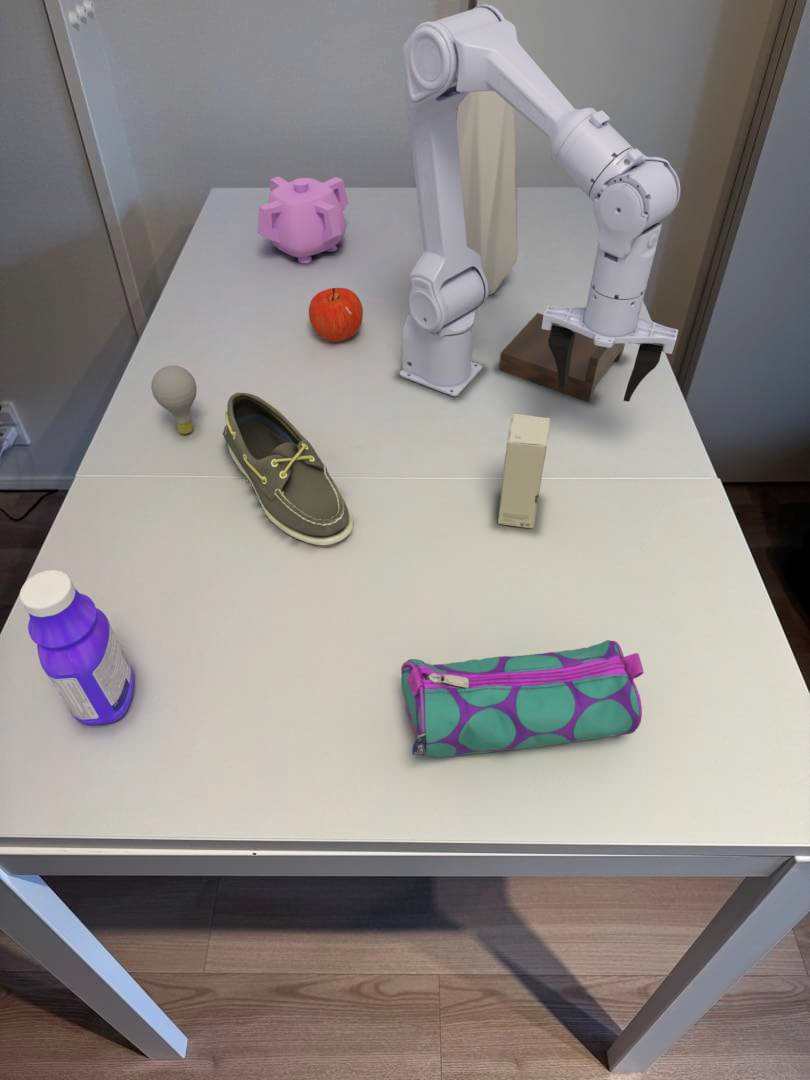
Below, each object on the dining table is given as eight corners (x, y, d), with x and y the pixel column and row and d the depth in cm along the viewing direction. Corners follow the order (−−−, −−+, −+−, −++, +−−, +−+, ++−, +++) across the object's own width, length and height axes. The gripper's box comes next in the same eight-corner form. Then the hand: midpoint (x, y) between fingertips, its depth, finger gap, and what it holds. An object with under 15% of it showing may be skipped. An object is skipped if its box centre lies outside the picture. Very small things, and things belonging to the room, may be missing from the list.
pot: (317, 214, 143) (311, 149, 134) (378, 248, 135) (376, 181, 126) (236, 247, 135) (224, 180, 126) (296, 285, 127) (288, 216, 118)
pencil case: (412, 779, 70) (412, 729, 63) (400, 694, 76) (399, 639, 69) (633, 752, 72) (658, 700, 64) (605, 671, 77) (625, 615, 70)
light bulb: (215, 425, 103) (200, 363, 96) (191, 450, 100) (173, 387, 92) (182, 414, 105) (164, 352, 97) (157, 438, 101) (137, 376, 94)
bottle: (85, 668, 78) (19, 557, 65) (141, 663, 78) (87, 553, 65) (70, 733, 73) (-4, 628, 60) (130, 728, 74) (70, 622, 61)
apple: (374, 337, 117) (372, 289, 111) (330, 356, 113) (325, 308, 107) (344, 314, 121) (341, 267, 115) (301, 332, 118) (295, 284, 112)
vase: (525, 278, 128) (553, 53, 103) (492, 311, 121) (513, 78, 97) (462, 259, 132) (473, 38, 107) (426, 289, 126) (430, 62, 101)
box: (533, 530, 90) (548, 448, 81) (496, 525, 91) (506, 442, 81) (537, 499, 94) (552, 416, 84) (501, 494, 94) (511, 411, 85)
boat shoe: (366, 538, 90) (363, 493, 84) (290, 567, 87) (281, 523, 81) (288, 418, 104) (281, 373, 98) (220, 440, 101) (209, 395, 96)
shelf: (498, 370, 111) (503, 327, 106) (535, 329, 118) (540, 288, 112) (589, 402, 106) (598, 359, 101) (621, 358, 113) (631, 316, 107)
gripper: (542, 292, 80) (527, 396, 90) (684, 318, 77) (652, 423, 87) (556, 259, 85) (541, 362, 95) (691, 283, 81) (660, 387, 91)
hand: (595, 389), depth 91 cm, fingers open, 7 cm apart
